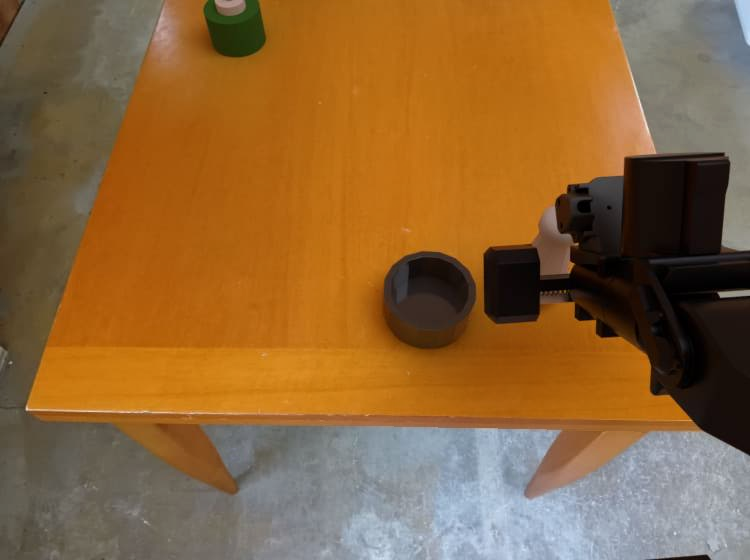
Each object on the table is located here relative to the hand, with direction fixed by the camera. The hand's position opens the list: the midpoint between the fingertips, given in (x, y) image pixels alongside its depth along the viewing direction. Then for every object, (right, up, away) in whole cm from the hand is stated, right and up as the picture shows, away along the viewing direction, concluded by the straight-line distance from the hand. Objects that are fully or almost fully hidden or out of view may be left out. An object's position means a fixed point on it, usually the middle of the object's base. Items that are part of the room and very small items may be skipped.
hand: (561, 259), depth 55 cm
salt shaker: (0, -3, +9) cm, 10 cm away
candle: (-39, +35, +34) cm, 63 cm away
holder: (-12, -5, +8) cm, 16 cm away
